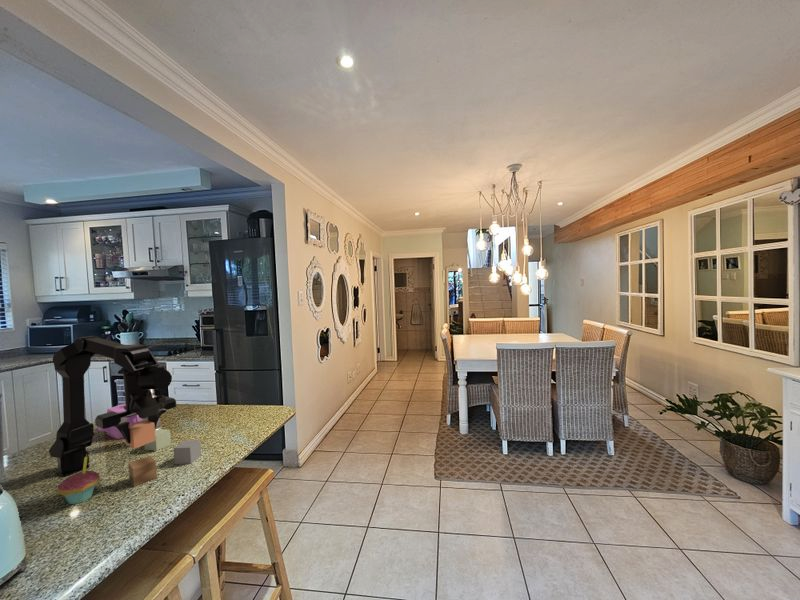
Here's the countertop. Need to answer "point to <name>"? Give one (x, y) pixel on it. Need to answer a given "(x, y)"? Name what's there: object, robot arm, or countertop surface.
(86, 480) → the cupcake
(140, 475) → the walnut block
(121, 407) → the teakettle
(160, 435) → the sage block
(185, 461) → the slate block
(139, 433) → the terracotta block
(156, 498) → the countertop surface
